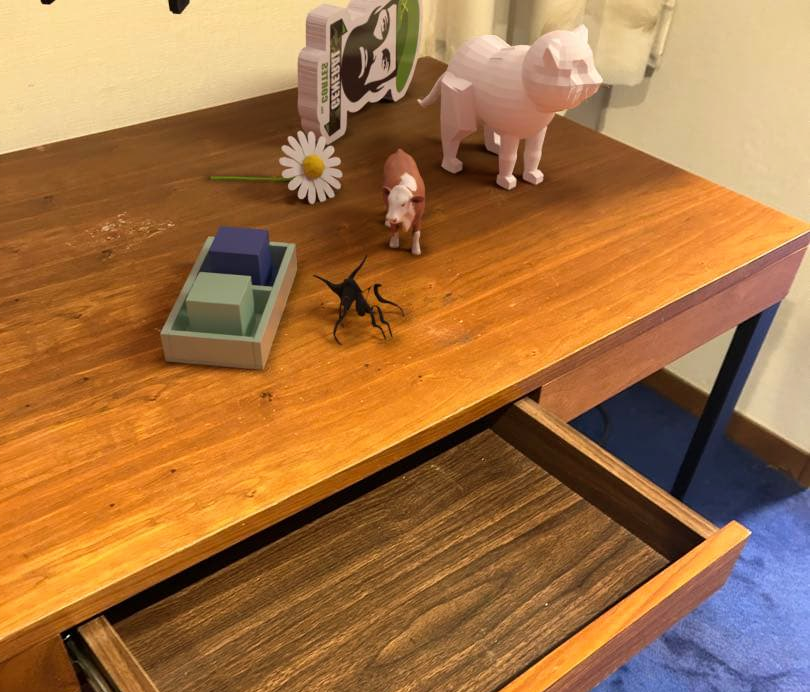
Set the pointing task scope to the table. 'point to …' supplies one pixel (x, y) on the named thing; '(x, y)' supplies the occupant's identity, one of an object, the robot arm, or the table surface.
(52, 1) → the robot arm
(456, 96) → the cat figurine
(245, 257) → the indigo block
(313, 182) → the decorative flower
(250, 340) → the sorting tray
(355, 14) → the cutout
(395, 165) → the bull figurine
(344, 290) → the creature
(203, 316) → the celadon block
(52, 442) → the table surface
